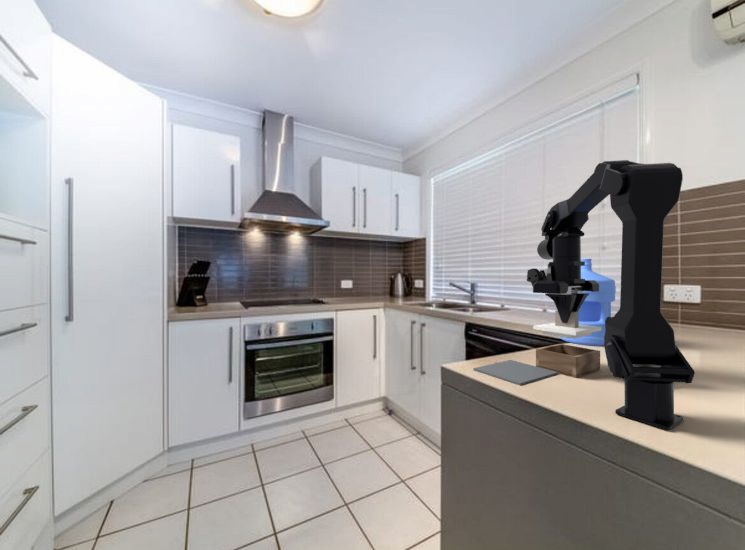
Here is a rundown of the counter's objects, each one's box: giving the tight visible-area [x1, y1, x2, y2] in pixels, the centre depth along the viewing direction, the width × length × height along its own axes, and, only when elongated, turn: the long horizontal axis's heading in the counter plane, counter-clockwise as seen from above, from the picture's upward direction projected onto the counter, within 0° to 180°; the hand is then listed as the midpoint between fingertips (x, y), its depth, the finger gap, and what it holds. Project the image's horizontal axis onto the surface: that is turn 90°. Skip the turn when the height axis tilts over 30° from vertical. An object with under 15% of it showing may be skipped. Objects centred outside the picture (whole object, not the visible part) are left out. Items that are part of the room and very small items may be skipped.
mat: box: [473, 359, 559, 386], centre depth 71 cm, size 14×12×1 cm
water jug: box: [559, 258, 617, 347], centre depth 104 cm, size 16×16×28 cm
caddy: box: [535, 343, 601, 378], centre depth 73 cm, size 11×9×4 cm
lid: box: [532, 310, 601, 339], centre depth 73 cm, size 12×10×6 cm
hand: (567, 322), depth 73 cm, fingers closed on lid
